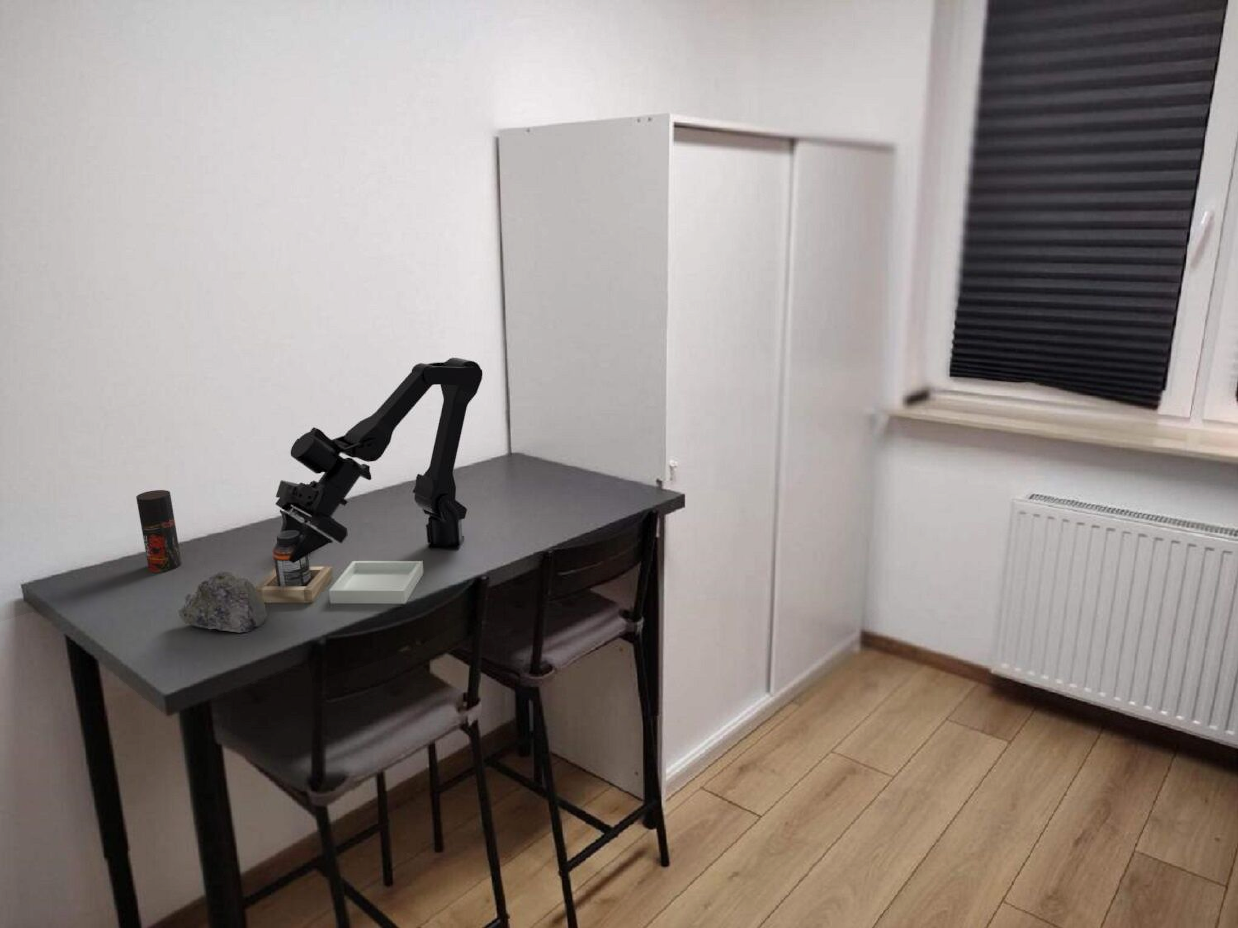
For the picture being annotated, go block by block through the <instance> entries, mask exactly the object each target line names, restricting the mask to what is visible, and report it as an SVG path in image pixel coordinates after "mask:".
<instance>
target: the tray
mask: <svg viewBox="0 0 1238 928" xmlns="http://www.w3.org/2000/svg"><path fill="white" fill-rule="evenodd" d="M423 563H424V562H423V560H412V561H411V560H352V562H351V563H350V564H349V565H348V566H347V568H346V569H345V570H344V571H343V572H342V574H341V575H340V576H339V578H337V580H336V581H335V582H334V583H333V585H332V586H331V587H330V589H329V590H328V595H329V603H330V604H381V605H382V604H383V605H385V604H395V605H396V604H398V605H399V604H403V605H404V604H406V603H407V601H408V600H409V598H410V596H411V595H412V593H413V591H414V589H415V588H416V586H417V585H418V583H419V582H420V579H421V578H422V576H423V574H424V564H423Z"/></svg>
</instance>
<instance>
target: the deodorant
mask: <svg viewBox="0 0 1238 928" xmlns="http://www.w3.org/2000/svg"><path fill="white" fill-rule="evenodd" d="M135 498H136V499H135V500H136V504H137V509H138V510H137V511H138V515H139V522H140V527H141V532H142V538H143V545H144V549H145V555H146V556H145V557H146V562H147V567H148V568H147V569H148V571H150V572H153V573H162V572H169V571H172V570H175V569H178V568H179V567H181V565H182V558H181V551H180V546H179V545H180V544H179V539H178V533H177V528H176V527H177V526H176V520H175V515H174V509H173V503H172V495H171V492H170V490H166V489H157V490H149V491H148V490H147V491H145V492H141V493H139V494H137V495H136V497H135Z"/></svg>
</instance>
